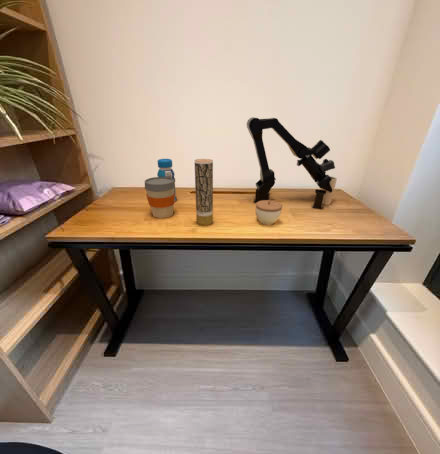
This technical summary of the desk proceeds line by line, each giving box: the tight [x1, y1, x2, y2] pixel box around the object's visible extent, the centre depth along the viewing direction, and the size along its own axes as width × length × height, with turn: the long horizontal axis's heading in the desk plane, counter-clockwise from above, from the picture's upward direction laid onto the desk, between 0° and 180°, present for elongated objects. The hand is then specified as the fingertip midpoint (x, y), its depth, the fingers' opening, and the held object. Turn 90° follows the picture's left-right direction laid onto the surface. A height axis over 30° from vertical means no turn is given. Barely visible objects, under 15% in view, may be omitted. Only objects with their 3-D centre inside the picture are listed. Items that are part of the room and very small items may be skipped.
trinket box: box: [255, 199, 283, 226], centre depth 104 cm, size 11×11×9 cm
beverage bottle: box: [156, 158, 177, 203], centre depth 123 cm, size 8×8×20 cm
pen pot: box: [319, 175, 337, 205], centre depth 126 cm, size 6×6×12 cm
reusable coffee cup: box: [144, 176, 176, 219], centre depth 109 cm, size 13×13×15 cm
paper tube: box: [194, 158, 214, 226], centre depth 99 cm, size 7×7×25 cm
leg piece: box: [312, 188, 326, 210], centre depth 121 cm, size 5×5×8 cm
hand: (330, 189), depth 126 cm, fingers closed on pen pot, 6 cm apart
